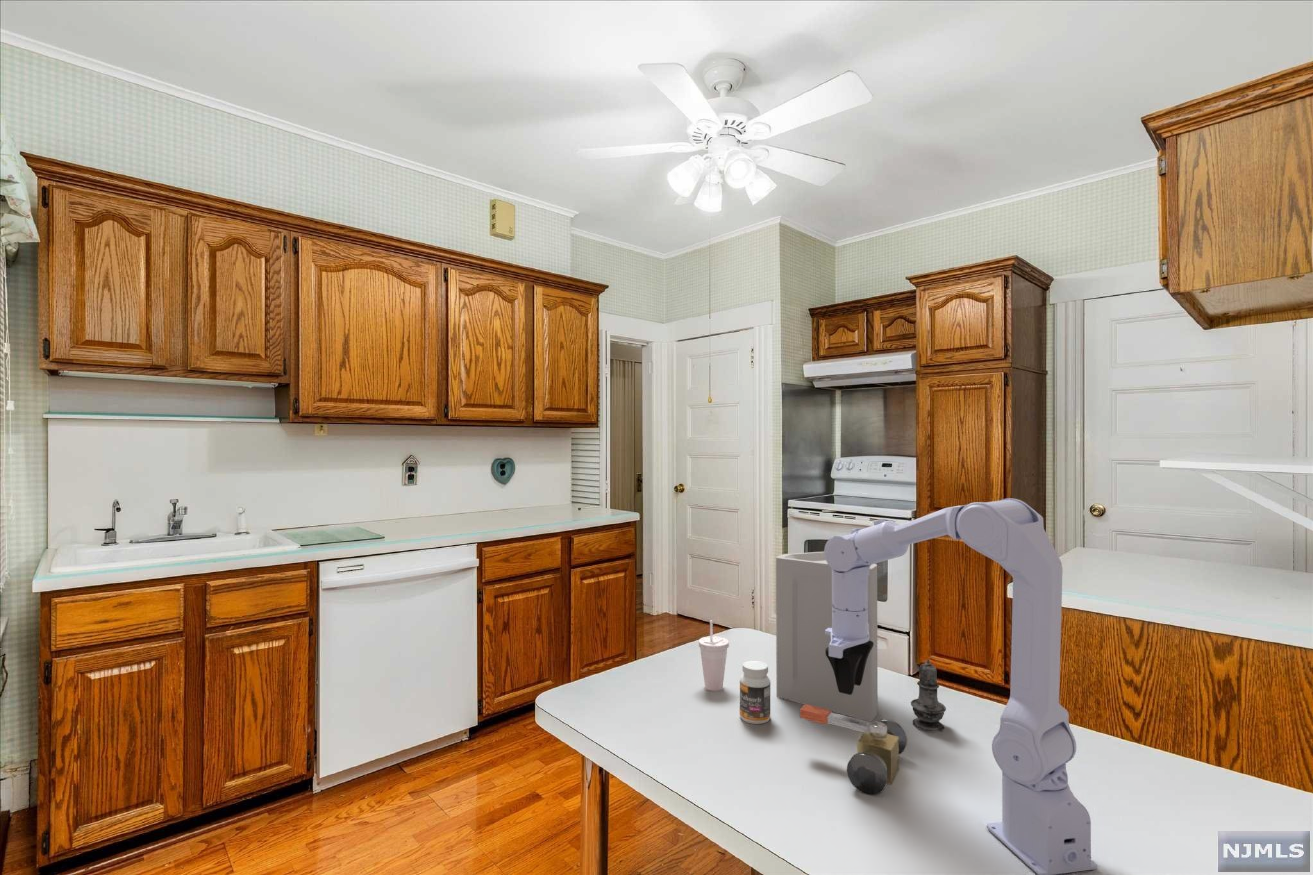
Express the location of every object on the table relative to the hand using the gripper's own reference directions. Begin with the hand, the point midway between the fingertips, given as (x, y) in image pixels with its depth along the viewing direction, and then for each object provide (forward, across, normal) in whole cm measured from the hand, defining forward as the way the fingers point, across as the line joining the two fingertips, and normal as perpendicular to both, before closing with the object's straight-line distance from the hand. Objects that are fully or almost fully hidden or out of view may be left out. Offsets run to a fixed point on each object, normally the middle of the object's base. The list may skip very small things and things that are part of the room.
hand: (849, 688), depth 102 cm
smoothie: (+11, -9, -32) cm, 35 cm away
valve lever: (+4, +4, 0) cm, 6 cm away
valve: (+10, +4, +6) cm, 13 cm away
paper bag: (+11, -20, -10) cm, 25 cm away
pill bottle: (+11, -2, -18) cm, 21 cm away
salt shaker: (+11, -17, +9) cm, 22 cm away
